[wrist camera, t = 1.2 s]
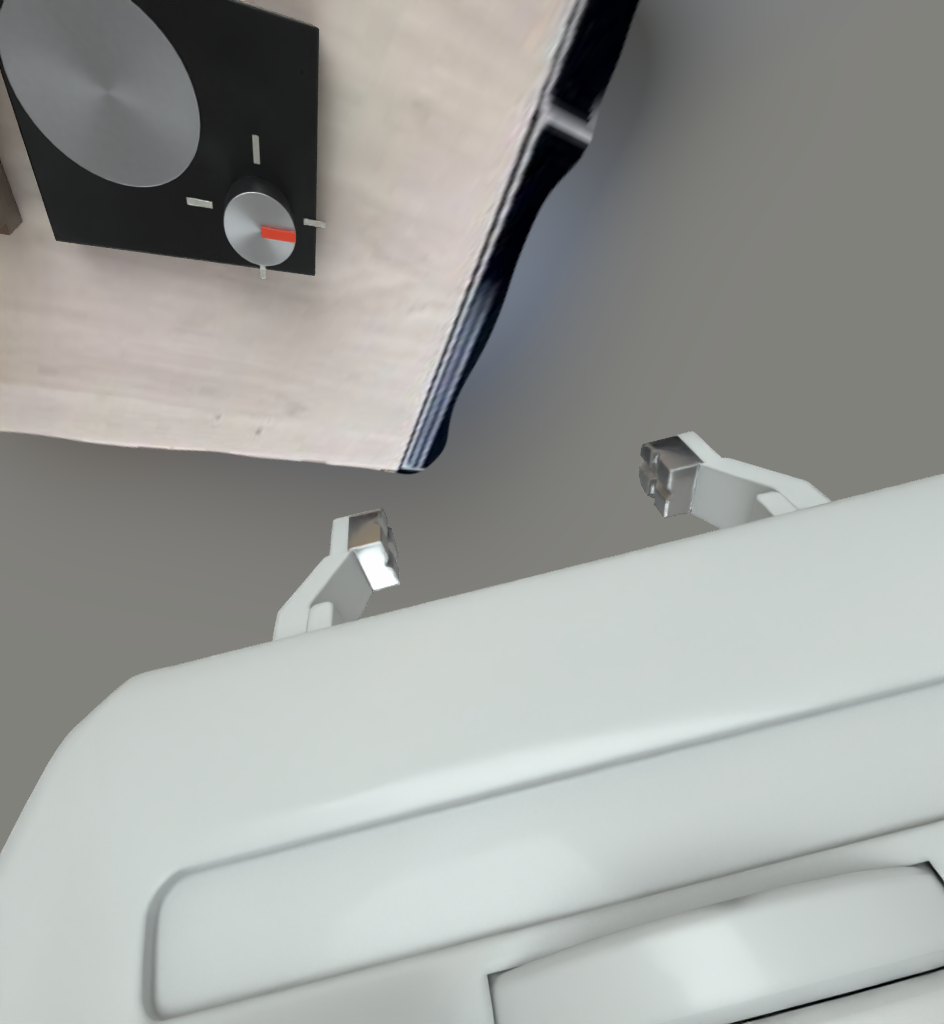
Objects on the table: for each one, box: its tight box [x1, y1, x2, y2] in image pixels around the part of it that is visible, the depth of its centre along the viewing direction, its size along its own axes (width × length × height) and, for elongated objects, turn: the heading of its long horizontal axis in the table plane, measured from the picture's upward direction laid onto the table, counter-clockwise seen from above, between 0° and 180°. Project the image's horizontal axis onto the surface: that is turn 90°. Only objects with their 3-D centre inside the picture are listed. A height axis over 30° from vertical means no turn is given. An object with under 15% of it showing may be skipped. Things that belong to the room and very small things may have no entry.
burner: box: [0, 0, 201, 187], centre depth 25 cm, size 8×8×1 cm
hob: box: [0, 0, 326, 279], centre depth 28 cm, size 16×14×3 cm
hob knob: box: [223, 177, 296, 266], centre depth 29 cm, size 4×4×4 cm
